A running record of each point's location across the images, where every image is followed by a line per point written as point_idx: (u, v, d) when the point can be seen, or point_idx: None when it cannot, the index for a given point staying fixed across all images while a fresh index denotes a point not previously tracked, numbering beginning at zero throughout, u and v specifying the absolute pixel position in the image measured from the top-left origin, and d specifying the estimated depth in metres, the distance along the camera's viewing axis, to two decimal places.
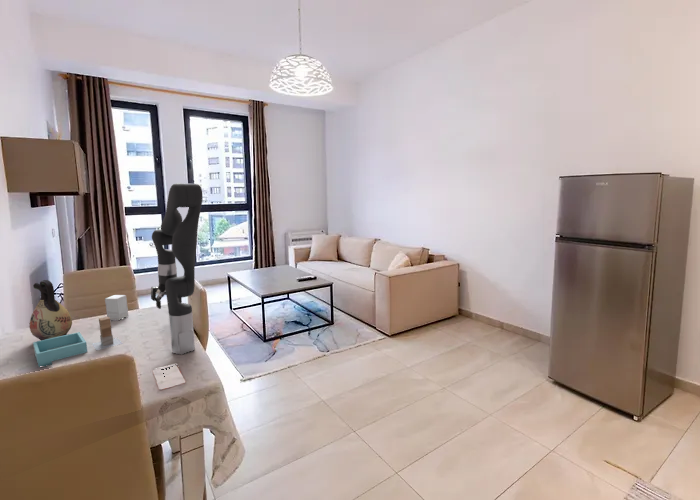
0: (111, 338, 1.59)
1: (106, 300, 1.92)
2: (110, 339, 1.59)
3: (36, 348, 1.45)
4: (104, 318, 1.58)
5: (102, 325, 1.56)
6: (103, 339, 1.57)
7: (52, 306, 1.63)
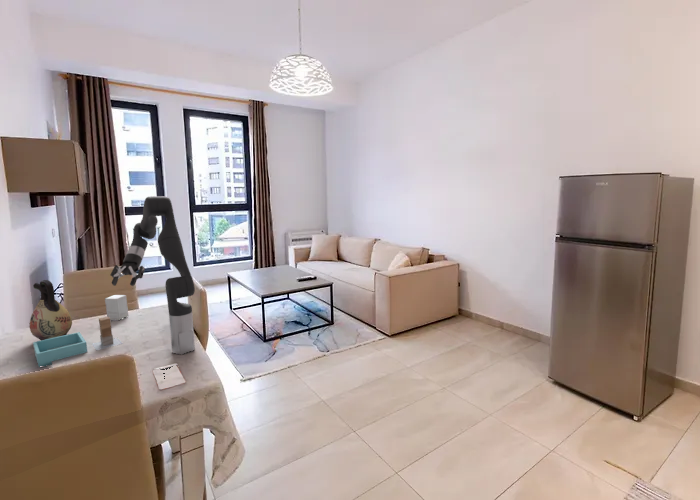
0: (111, 338, 1.59)
1: (106, 300, 1.92)
2: (110, 339, 1.59)
3: (36, 348, 1.45)
4: (104, 318, 1.58)
5: (102, 325, 1.56)
6: (103, 339, 1.57)
7: (52, 306, 1.63)
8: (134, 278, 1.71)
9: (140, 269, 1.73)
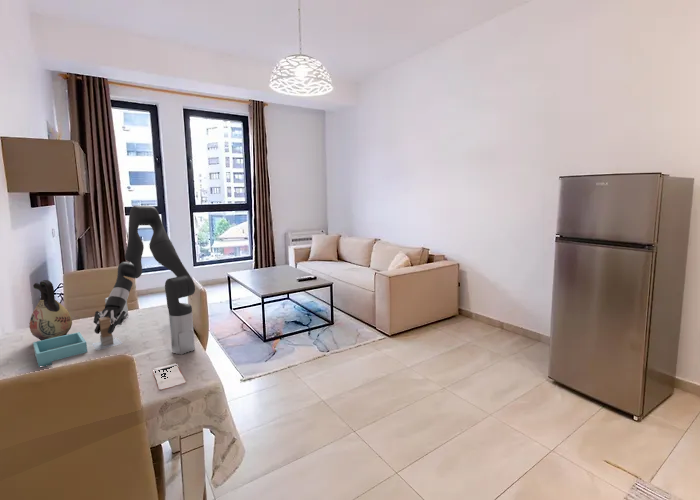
0: (111, 338, 1.59)
1: (106, 300, 1.92)
2: (110, 339, 1.59)
3: (36, 348, 1.45)
4: (104, 318, 1.58)
5: (102, 325, 1.56)
6: (103, 339, 1.57)
7: (52, 306, 1.63)
8: (112, 325, 1.59)
9: (121, 315, 1.61)
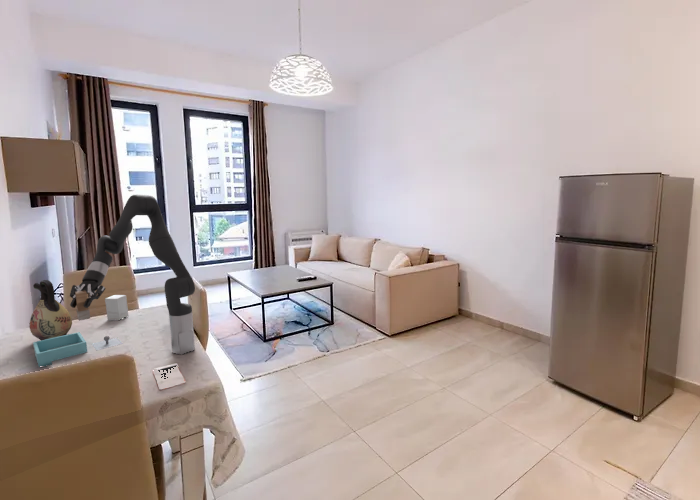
0: (88, 313, 1.54)
1: (106, 300, 1.92)
2: (87, 314, 1.54)
3: (36, 348, 1.45)
4: (80, 292, 1.53)
5: (78, 299, 1.51)
6: (79, 313, 1.52)
7: (52, 306, 1.63)
8: (89, 299, 1.53)
9: (98, 289, 1.56)
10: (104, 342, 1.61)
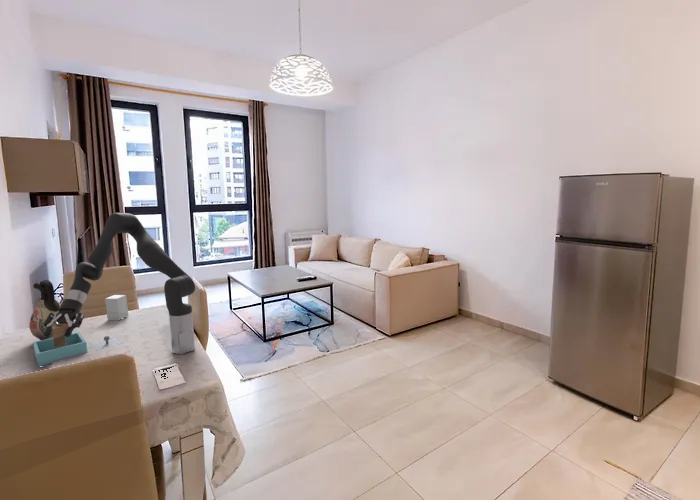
0: None
1: (106, 300, 1.92)
2: None
3: (36, 348, 1.45)
4: (57, 326, 1.50)
5: (54, 334, 1.48)
6: None
7: (52, 306, 1.63)
8: (70, 328, 1.50)
9: (78, 317, 1.53)
10: (104, 342, 1.61)
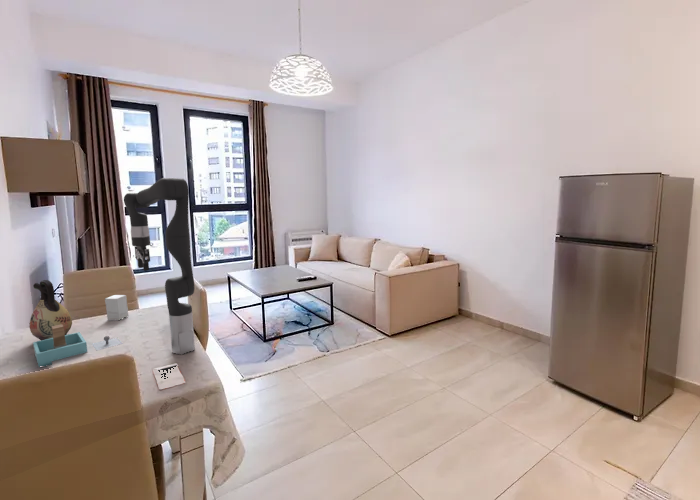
0: None
1: (106, 300, 1.92)
2: None
3: (36, 348, 1.45)
4: (57, 326, 1.50)
5: (54, 334, 1.48)
6: None
7: (52, 306, 1.63)
8: (144, 264, 1.65)
9: (143, 254, 1.63)
10: (104, 342, 1.61)
